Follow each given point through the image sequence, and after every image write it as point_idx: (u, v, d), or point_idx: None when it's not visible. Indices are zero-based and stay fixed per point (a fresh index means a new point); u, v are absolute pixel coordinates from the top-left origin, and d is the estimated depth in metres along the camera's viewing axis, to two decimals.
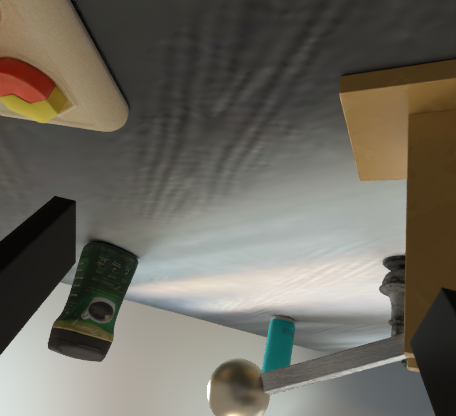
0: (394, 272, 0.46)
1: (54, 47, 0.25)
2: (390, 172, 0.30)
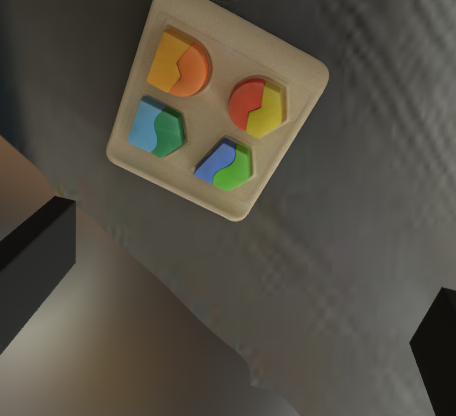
0: None
1: (242, 42, 0.35)
2: None
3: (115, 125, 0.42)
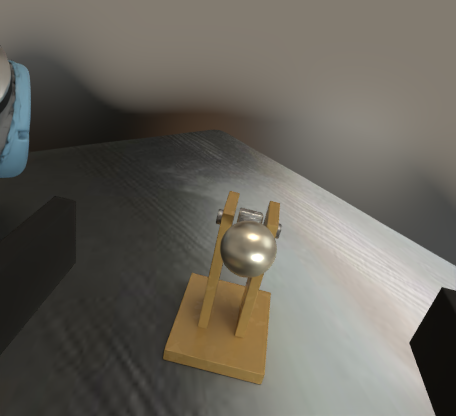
0: None
1: None
2: (256, 352, 0.40)
3: None
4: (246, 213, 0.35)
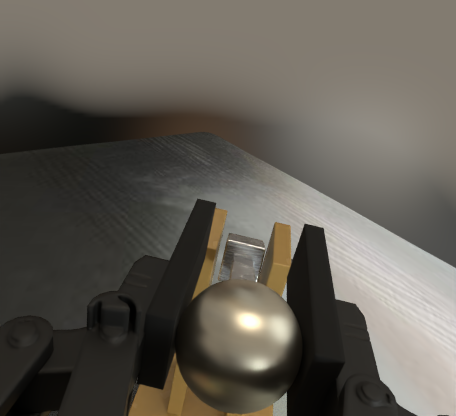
0: None
1: None
2: None
3: None
4: (237, 244, 0.22)
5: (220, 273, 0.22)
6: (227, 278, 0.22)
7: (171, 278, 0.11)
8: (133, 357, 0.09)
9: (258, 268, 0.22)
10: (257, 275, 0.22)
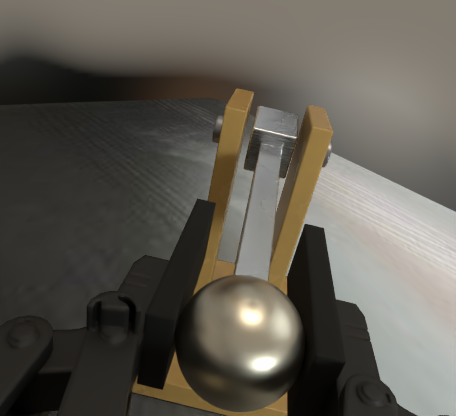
0: None
1: None
2: None
3: None
4: (265, 133, 0.19)
5: (245, 162, 0.20)
6: (253, 167, 0.20)
7: (171, 278, 0.11)
8: (133, 357, 0.09)
9: (288, 158, 0.19)
10: (287, 165, 0.20)
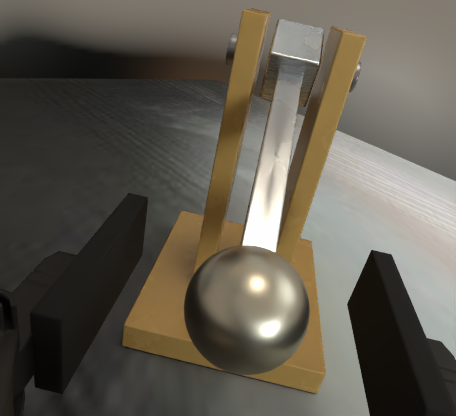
0: None
1: None
2: None
3: None
4: (283, 59, 0.16)
5: (262, 90, 0.18)
6: (271, 95, 0.18)
7: (71, 275, 0.10)
8: (13, 353, 0.08)
9: (309, 86, 0.17)
10: (308, 93, 0.18)
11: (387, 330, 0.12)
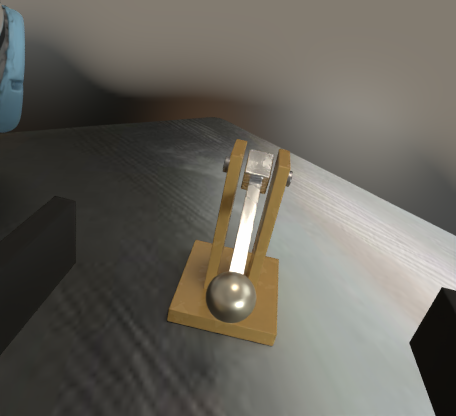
0: None
1: None
2: (266, 313, 0.37)
3: None
4: (251, 174, 0.33)
5: (242, 186, 0.35)
6: (246, 188, 0.35)
7: None
8: None
9: (265, 185, 0.34)
10: (265, 188, 0.34)
11: None
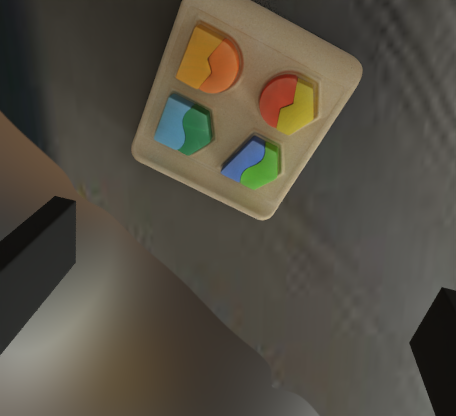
0: None
1: (275, 37, 0.35)
2: None
3: (141, 123, 0.41)
4: None
5: None
6: None
7: None
8: None
9: None
10: None
11: None
